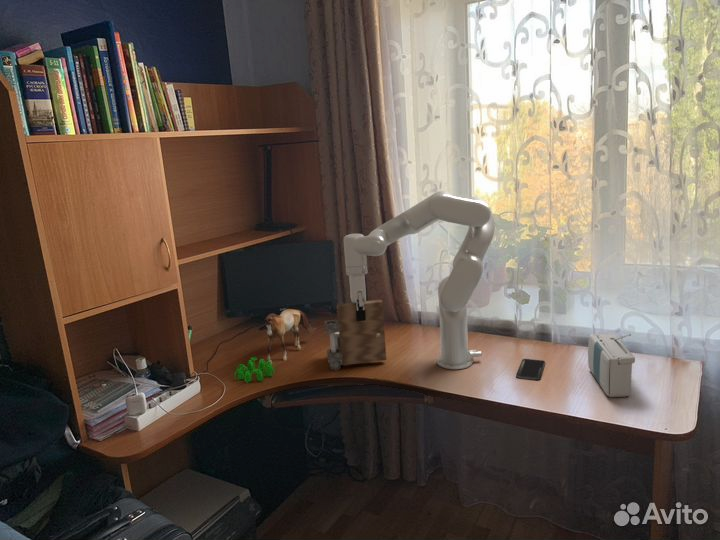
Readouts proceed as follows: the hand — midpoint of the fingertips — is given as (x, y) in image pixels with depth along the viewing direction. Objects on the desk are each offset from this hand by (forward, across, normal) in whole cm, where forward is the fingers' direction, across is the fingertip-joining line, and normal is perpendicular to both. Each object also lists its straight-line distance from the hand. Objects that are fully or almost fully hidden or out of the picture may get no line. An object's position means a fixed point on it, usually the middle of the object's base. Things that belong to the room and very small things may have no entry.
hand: (360, 318), depth 206 cm
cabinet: (+18, -5, -3) cm, 19 cm away
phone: (+19, +20, +55) cm, 61 cm away
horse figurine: (+18, -17, -25) cm, 35 cm away
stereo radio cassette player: (+19, +36, +74) cm, 84 cm away
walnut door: (+16, 0, -2) cm, 16 cm away
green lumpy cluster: (+18, -2, -40) cm, 44 cm away
